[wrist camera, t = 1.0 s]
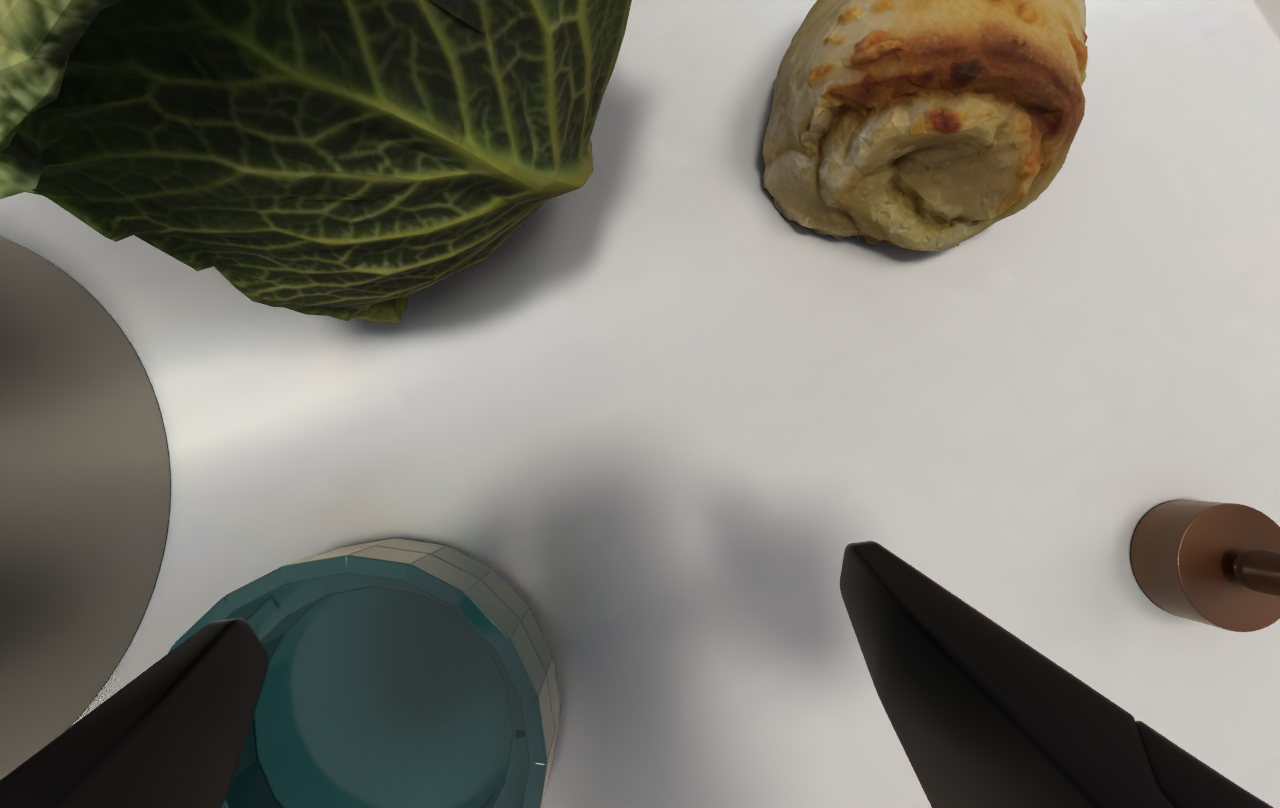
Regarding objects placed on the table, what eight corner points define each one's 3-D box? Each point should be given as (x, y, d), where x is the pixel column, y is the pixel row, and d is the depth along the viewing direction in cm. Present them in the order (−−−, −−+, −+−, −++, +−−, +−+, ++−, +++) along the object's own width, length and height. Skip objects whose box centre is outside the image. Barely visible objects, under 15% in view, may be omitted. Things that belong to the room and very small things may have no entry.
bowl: (627, 699, 22) (629, 761, 18) (386, 959, 21) (322, 1097, 16) (404, 471, 23) (350, 474, 18) (156, 710, 21) (32, 777, 17)
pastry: (794, 297, 24) (880, 217, 16) (713, 44, 25) (756, -149, 17) (1082, 218, 25) (1300, 104, 17) (992, -23, 26) (1157, -237, 18)
